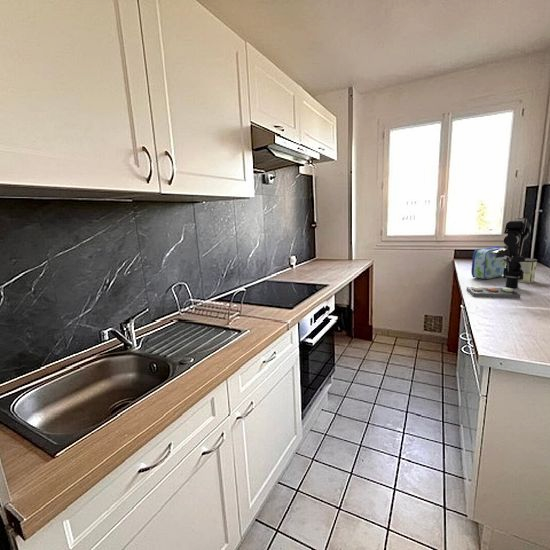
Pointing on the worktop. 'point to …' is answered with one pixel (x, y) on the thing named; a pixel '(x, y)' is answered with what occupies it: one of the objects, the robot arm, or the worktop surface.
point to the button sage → (507, 290)
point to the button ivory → (477, 288)
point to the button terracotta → (492, 289)
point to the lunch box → (487, 263)
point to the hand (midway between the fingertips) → (509, 272)
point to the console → (493, 293)
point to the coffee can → (528, 269)
